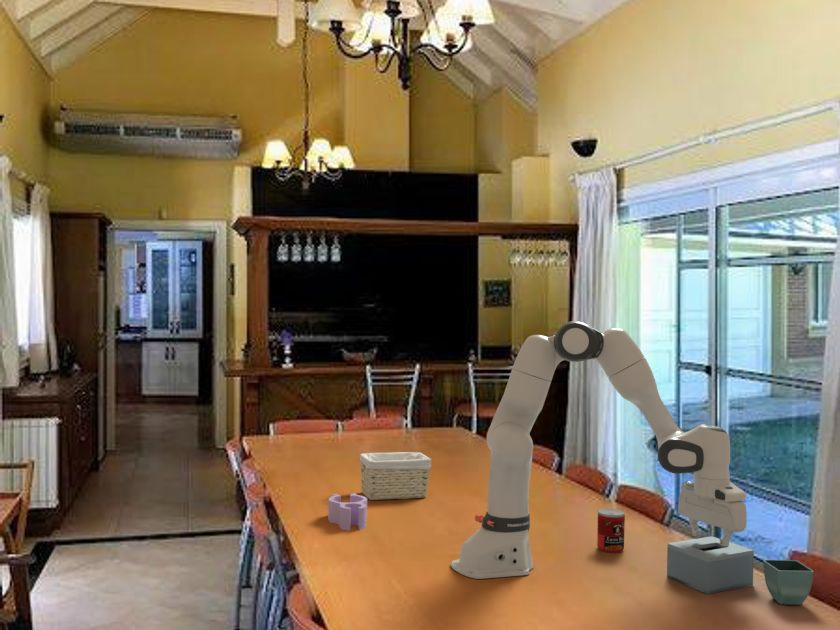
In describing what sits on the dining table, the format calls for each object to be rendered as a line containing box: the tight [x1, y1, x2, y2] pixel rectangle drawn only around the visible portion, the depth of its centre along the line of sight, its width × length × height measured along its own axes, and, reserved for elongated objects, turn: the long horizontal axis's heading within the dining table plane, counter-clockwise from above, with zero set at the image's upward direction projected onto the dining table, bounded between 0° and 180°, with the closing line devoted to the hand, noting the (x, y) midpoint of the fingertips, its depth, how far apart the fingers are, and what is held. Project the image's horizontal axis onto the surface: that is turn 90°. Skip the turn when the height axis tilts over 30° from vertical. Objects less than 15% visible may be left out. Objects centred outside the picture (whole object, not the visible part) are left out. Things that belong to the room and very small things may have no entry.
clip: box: [327, 492, 368, 531], centre depth 273 cm, size 20×12×7 cm, turn 15°
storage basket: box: [359, 451, 432, 501], centre depth 310 cm, size 24×16×15 cm
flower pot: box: [762, 559, 815, 606], centre depth 206 cm, size 9×9×9 cm
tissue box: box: [666, 535, 755, 595], centre depth 220 cm, size 16×14×9 cm
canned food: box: [596, 508, 626, 554], centre depth 247 cm, size 8×8×11 cm
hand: (710, 540), depth 220 cm, fingers open, 8 cm apart
